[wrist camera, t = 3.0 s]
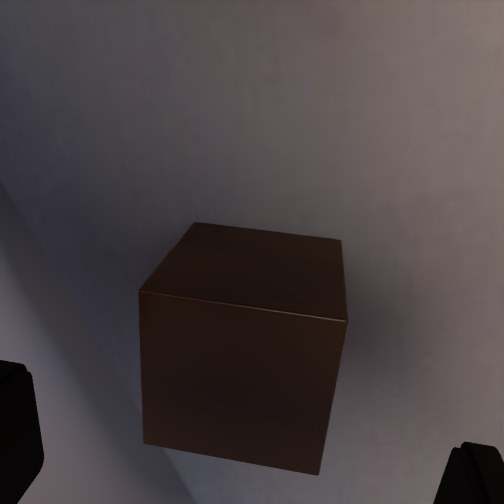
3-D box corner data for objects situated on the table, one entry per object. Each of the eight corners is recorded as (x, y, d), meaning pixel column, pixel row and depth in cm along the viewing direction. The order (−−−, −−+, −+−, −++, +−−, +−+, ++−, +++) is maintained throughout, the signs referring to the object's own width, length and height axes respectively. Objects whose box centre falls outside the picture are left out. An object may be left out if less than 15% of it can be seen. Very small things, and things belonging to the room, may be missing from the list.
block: (191, 343, 17) (142, 444, 13) (193, 221, 15) (136, 290, 11) (320, 363, 17) (318, 476, 12) (341, 240, 15) (348, 320, 10)
